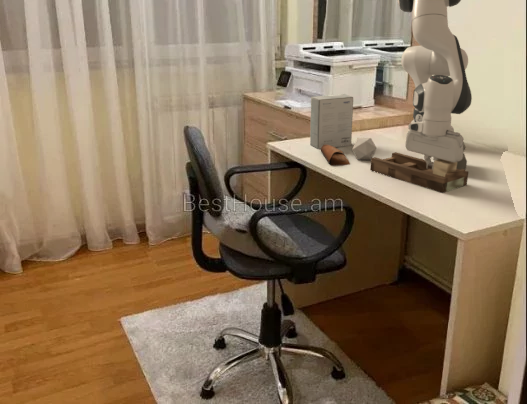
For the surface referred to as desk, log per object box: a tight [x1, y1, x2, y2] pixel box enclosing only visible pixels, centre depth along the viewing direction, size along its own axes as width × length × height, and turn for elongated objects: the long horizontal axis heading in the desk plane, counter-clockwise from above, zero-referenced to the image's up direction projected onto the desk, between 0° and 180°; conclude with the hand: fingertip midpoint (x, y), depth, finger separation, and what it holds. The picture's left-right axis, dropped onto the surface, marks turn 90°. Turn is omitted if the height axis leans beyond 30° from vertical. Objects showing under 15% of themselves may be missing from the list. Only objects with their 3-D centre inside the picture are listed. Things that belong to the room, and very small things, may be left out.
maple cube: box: [433, 159, 457, 177], centre depth 184 cm, size 5×5×5 cm
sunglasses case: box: [320, 144, 351, 166], centre depth 216 cm, size 18×7×7 cm
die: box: [351, 137, 377, 161], centre depth 215 cm, size 8×9×10 cm
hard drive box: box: [309, 93, 354, 150], centre depth 231 cm, size 16×8×20 cm, turn 111°
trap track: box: [370, 152, 469, 194], centre depth 193 cm, size 13×30×6 cm, turn 38°
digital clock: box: [456, 136, 468, 171], centre depth 203 cm, size 16×9×11 cm, turn 156°
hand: (431, 169), depth 188 cm, fingers closed
